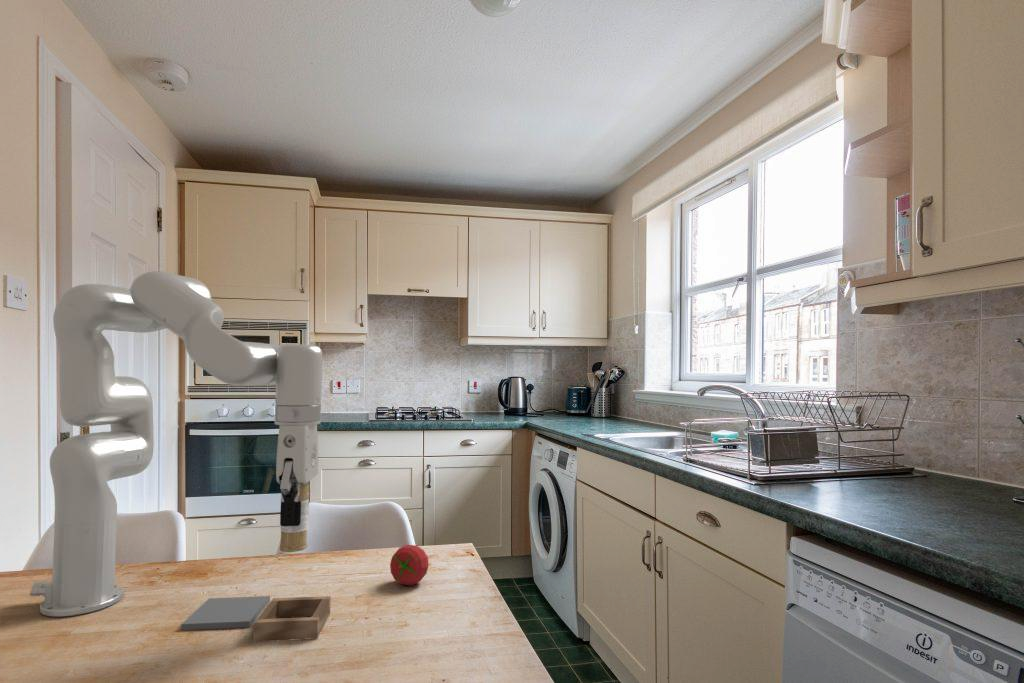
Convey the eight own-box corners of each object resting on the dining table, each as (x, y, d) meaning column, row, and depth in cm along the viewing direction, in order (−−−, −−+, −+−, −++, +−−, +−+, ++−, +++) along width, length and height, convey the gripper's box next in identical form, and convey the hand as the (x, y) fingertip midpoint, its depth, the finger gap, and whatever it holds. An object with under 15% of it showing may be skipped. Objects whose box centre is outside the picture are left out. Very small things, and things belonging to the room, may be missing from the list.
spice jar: (275, 548, 99) (278, 469, 100) (302, 543, 102) (304, 467, 103) (284, 555, 95) (287, 473, 96) (311, 549, 98) (314, 470, 99)
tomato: (416, 534, 123) (400, 538, 116) (441, 561, 120) (425, 566, 113) (392, 563, 123) (375, 568, 116) (416, 591, 120) (399, 597, 113)
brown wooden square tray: (253, 641, 92) (254, 622, 93) (272, 615, 102) (273, 598, 102) (317, 638, 93) (317, 619, 94) (330, 613, 103) (330, 596, 104)
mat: (181, 630, 96) (181, 624, 97) (208, 603, 107) (209, 598, 107) (249, 627, 98) (249, 621, 98) (269, 601, 109) (269, 596, 109)
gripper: (308, 419, 92) (304, 535, 91) (330, 411, 109) (327, 509, 108) (259, 419, 91) (255, 536, 90) (289, 411, 108) (286, 509, 107)
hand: (294, 520), depth 99 cm, fingers closed on spice jar, 4 cm apart
